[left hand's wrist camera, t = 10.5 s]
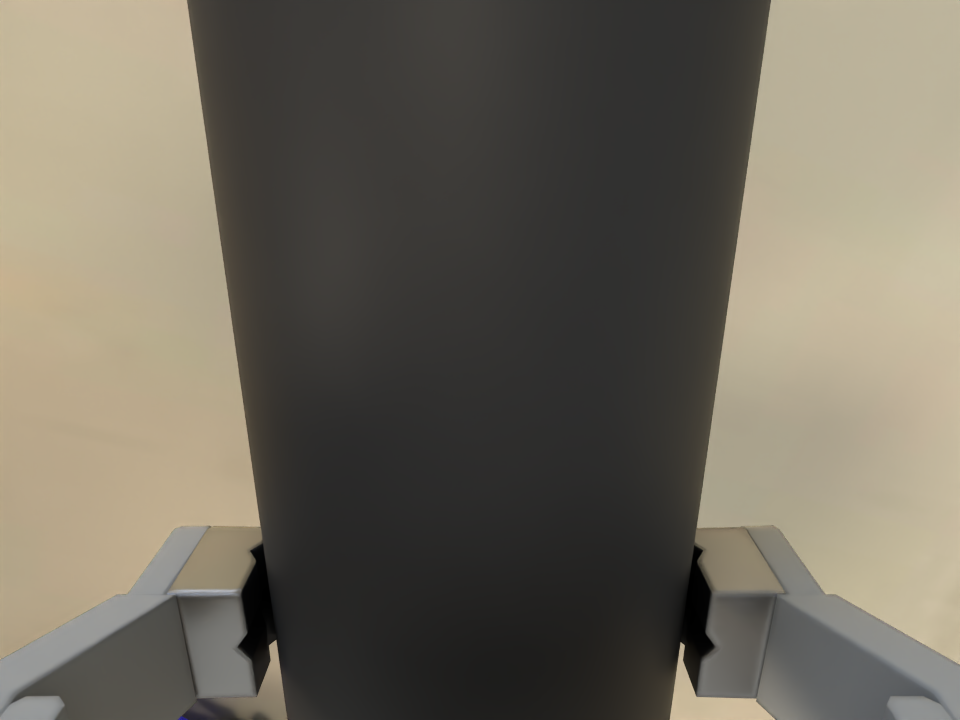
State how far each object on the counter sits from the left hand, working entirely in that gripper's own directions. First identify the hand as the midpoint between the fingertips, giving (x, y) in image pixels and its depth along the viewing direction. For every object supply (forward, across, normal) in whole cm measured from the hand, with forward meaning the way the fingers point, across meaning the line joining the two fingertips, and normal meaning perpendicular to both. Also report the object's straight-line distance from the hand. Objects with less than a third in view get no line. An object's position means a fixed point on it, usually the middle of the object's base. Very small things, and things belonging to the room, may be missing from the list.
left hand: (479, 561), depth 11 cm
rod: (+3, 0, +8) cm, 9 cm away
